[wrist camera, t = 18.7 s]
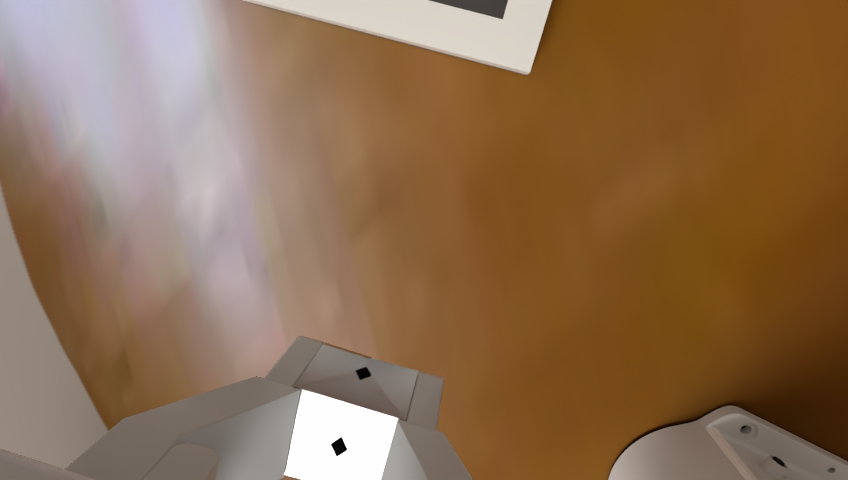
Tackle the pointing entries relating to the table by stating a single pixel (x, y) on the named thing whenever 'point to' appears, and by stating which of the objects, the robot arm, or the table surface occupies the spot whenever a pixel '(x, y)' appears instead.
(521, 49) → the socket board
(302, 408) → the robot arm
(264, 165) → the table surface
